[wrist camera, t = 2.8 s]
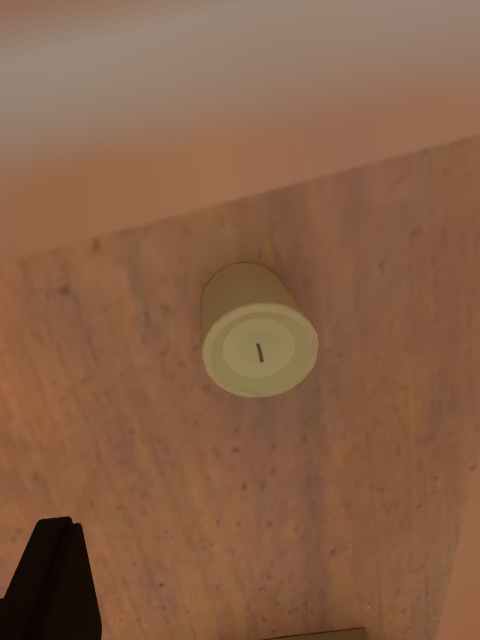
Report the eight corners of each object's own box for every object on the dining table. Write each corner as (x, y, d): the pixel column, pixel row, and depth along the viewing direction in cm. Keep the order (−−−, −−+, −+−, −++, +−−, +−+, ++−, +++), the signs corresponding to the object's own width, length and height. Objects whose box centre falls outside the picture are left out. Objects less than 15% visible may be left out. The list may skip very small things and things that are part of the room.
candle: (280, 348, 28) (312, 418, 20) (197, 341, 27) (196, 411, 19) (293, 266, 26) (332, 308, 18) (205, 257, 26) (207, 297, 18)
